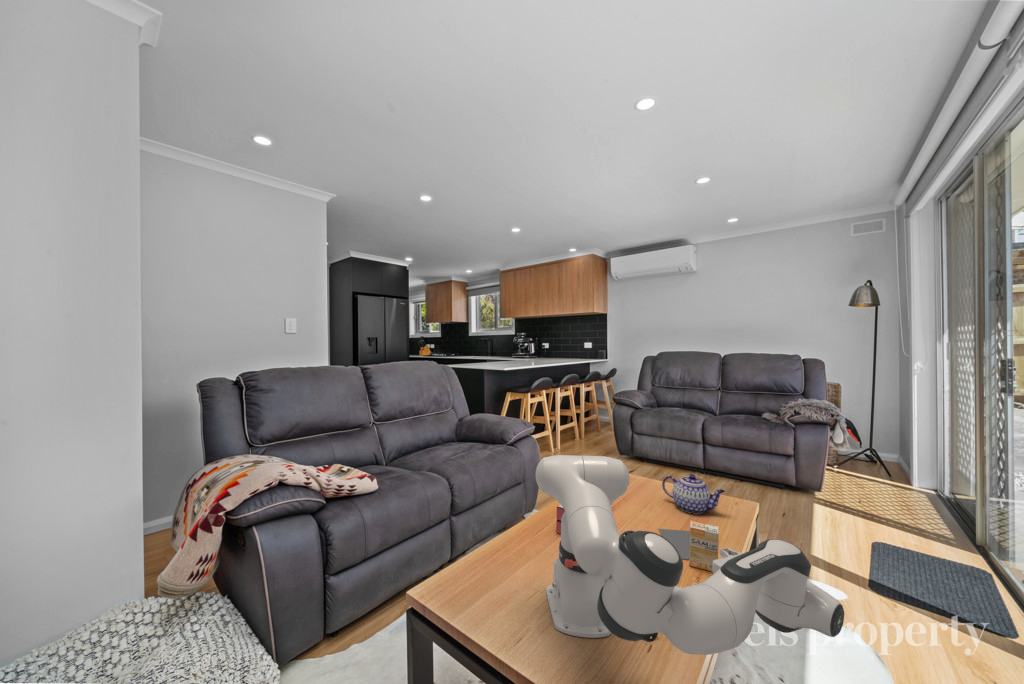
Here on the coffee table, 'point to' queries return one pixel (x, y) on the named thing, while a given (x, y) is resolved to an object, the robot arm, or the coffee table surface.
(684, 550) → the mat
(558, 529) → the puzzle cube
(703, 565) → the supplement box
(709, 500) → the teapot
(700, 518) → the coffee table surface
